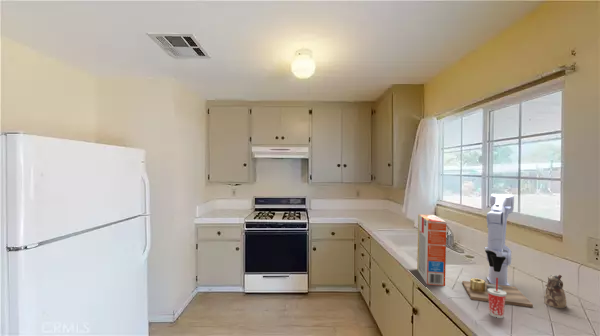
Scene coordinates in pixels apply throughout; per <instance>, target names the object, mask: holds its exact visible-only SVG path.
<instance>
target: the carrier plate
mask: <svg viewBox="0 0 600 336" xmlns="http://www.w3.org/2000/svg"><path fill="white" fill-rule="evenodd" d="M461 282H462V285H463V287H464V290H465V291H466V293H467V294H468V296H469V298H470V299H471V301H472V300H473V301H480V302H488V303H489V297H488V291H487V290H488V289H489V288H495V289H496V285H495V284H491V283H485V292H478V291H474V290H472V289H470V280H469V281H467V280H462V281H461ZM498 289H500V290H503V291H505V292H506V296H505V305H512V306H520V307H526V308H527V307H528V308H533V307H534V304H533V303H532V302H531V301H530V300H529V298H528V297H526V296H525V295H524V294H523V293H522V292H521V291H520V289H518V288H517V287H516V286H511V285H510V286H504V285H498Z"/></svg>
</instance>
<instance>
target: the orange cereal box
mask: <svg viewBox="0 0 600 336" xmlns="http://www.w3.org/2000/svg"><path fill="white" fill-rule="evenodd" d="M446 248H447V221H445V220H444V219H442V218H441V217H439V216H437V215H435V214H419V213H418V215H417V258H416V259H417V263H416V264H417V266H416V267H417V269H416V270H417V271H418V273H419V275H420V276H421V278H422V279H423V280H424V282H425V283H426V285H429V286H431V285H432V286H443V287H445V286H446V267H447V266H446V263H447V261H446V258H447V257H446V253H447V251H446V250H447V249H446Z"/></svg>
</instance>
